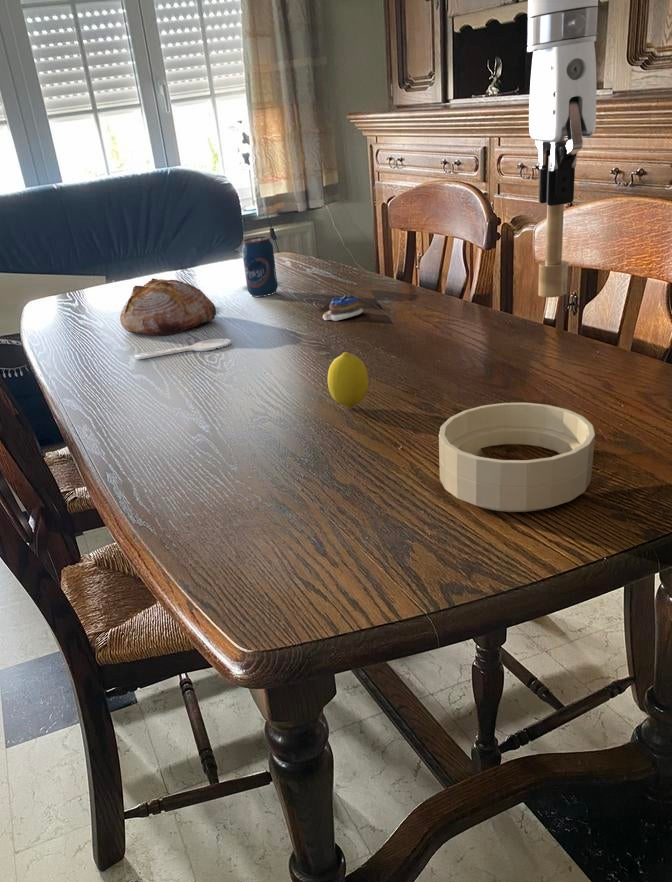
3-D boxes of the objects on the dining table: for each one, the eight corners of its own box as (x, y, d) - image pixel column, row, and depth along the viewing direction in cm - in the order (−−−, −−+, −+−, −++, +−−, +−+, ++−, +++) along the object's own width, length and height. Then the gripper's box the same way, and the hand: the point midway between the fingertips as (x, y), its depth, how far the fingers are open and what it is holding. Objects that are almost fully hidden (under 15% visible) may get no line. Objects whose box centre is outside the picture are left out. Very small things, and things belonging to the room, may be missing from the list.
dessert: (364, 304, 149) (359, 284, 144) (365, 331, 146) (360, 311, 141) (325, 310, 151) (319, 290, 145) (325, 337, 148) (319, 317, 143)
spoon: (134, 354, 139) (133, 351, 139) (229, 338, 141) (229, 335, 141) (134, 362, 134) (133, 359, 134) (232, 346, 136) (232, 343, 136)
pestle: (560, 289, 102) (566, 151, 94) (571, 294, 98) (577, 153, 90) (534, 293, 102) (537, 156, 94) (543, 298, 98) (548, 157, 90)
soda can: (245, 298, 169) (238, 243, 163) (251, 291, 174) (243, 237, 169) (276, 296, 167) (269, 240, 162) (280, 288, 173) (273, 234, 168)
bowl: (557, 444, 86) (560, 395, 83) (615, 506, 73) (621, 450, 70) (426, 461, 86) (425, 413, 84) (460, 526, 73) (460, 471, 70)
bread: (123, 329, 161) (112, 281, 157) (213, 313, 164) (204, 266, 160) (123, 344, 147) (111, 292, 142) (222, 326, 149) (213, 275, 145)
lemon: (343, 399, 107) (338, 344, 103) (377, 403, 104) (374, 347, 100) (322, 413, 103) (317, 357, 99) (357, 418, 100) (352, 360, 96)
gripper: (625, 19, 79) (612, 205, 88) (567, 33, 93) (561, 192, 102) (554, 30, 79) (549, 215, 88) (507, 43, 93) (506, 200, 102)
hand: (555, 201), depth 95 cm, fingers closed on pestle, 2 cm apart
